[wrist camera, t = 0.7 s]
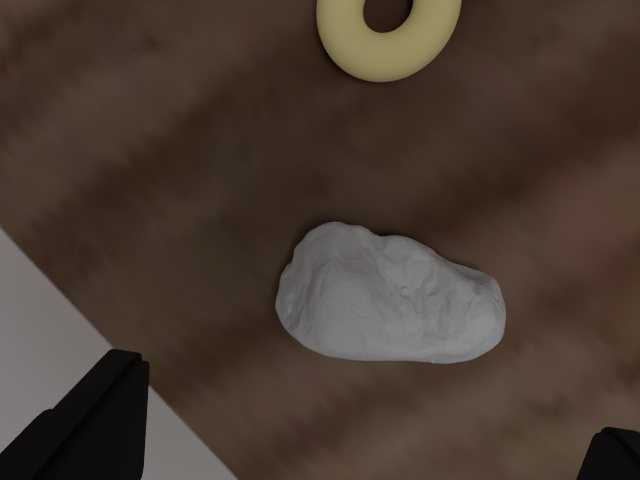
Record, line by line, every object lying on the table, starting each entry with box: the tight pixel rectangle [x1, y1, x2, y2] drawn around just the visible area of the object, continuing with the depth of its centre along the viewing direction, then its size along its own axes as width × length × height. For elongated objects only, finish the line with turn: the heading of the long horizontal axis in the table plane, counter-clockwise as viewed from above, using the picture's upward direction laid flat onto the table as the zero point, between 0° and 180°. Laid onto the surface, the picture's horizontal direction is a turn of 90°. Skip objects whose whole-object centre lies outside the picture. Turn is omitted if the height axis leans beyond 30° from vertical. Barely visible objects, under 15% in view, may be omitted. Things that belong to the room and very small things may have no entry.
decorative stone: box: [275, 222, 506, 363], centre depth 34 cm, size 17×10×10 cm
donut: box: [316, 0, 462, 82], centre depth 31 cm, size 10×5×9 cm
